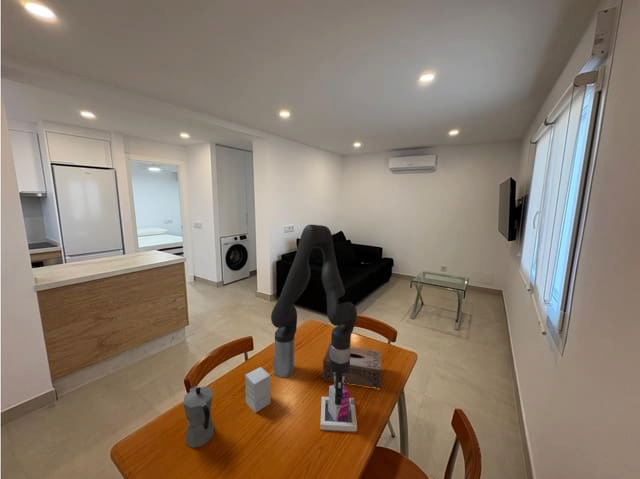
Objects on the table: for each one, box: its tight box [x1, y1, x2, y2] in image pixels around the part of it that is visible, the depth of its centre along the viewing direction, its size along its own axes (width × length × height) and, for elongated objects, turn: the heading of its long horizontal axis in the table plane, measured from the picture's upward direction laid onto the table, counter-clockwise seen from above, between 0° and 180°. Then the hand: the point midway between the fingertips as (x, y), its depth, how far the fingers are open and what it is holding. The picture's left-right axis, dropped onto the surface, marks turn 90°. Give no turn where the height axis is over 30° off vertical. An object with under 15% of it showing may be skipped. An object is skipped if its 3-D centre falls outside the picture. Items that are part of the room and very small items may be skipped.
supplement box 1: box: [244, 366, 272, 414], centre depth 100 cm, size 7×7×13 cm
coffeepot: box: [182, 385, 215, 449], centre depth 84 cm, size 15×9×18 cm, turn 43°
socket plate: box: [319, 396, 358, 433], centre depth 95 cm, size 13×13×3 cm
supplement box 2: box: [328, 384, 350, 422], centre depth 95 cm, size 6×6×12 cm
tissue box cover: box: [322, 342, 383, 389], centre depth 119 cm, size 26×14×10 cm, turn 77°
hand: (337, 395), depth 94 cm, fingers open, 8 cm apart
